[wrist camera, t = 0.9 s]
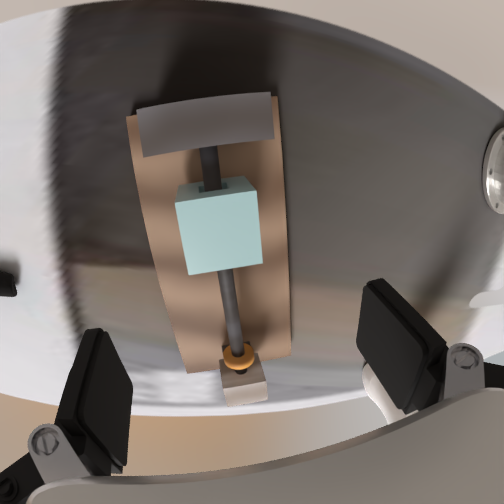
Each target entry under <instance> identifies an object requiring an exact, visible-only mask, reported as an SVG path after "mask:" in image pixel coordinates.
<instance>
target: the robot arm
mask: <svg viewBox="0 0 504 504" xmlns="http://www.w3.org/2000/svg"><path fill="white" fill-rule="evenodd" d="M482 181H483V190H484V195H485V198H486V201H487V203H488V205H489V207H490V208H491V209H492V210H493V211H495V212H497V213H500V214H504V128H501V129H499V130H498V131H497V132H496V133H495V134H494V135H493V137H492V138H491V140H490V142H489V145H488V147H487V150H486V154H485V158H484V163H483V179H482ZM356 343H357V347H358V349H359V351H360V352H361V354H362V355H363V357H364V358H365V360H366V361H367V363H368V364H369V366H370V367H371V369H372V370H373V372H374V373H375V375H376V376H377V378H378V380H379V381H380V383H381V384H382V386H383V387H384V389H385V390H386V392H387V393H388V395H389V397H390V398H391V400H392V401H393V403H394V404H395V406H396V407H397V409H399V410H400V409H402V411H403V412H404V414H405V415H407V414H409V413H412V412H414V411H416V410H418V412H417V413H414V414H412V415H410V416H408V417H405V418H403V419H401V420H398V421H396V422H393V423H391V424H389V425H386V426H384V427H381V428H379V429H376V430H374V431H372V432H368V433H366V434H363V435H360V436H357V437H355V438H352V439H349V440H346V441H343V442H340V443H337V444H334V445H331V446H327V447H324V448H321V449H317V450H314V451H310V452H306V453H303V454H299V455H295V456H291V457H287V458H282V459H278V460H274V461H269V462H264V463H259V464H254V465H248V466H243V467H236V468H230V469H223V470H217V471H208V472H200V473H188V474H175V475H156V476H111V473H116V474H122V470H123V466H126V464H127V452H128V438H129V426H130V425H129V424H130V415H131V405H132V396H133V385H132V382H131V380H130V378H129V376H128V374H127V372H126V370H125V368H124V366H123V364H122V362H121V360H120V358H119V356H118V354H117V351H116V349H115V347H114V345H113V343H112V341H111V338H110V336H109V334H108V332H106V331H105V332H104V331H103V330H102V329H101V328H95V329H87V330H86V331H85V333H84V335H83V338H82V341H81V343H80V346H79V349H78V352H77V354H76V357H75V360H74V363H73V366H72V368H71V370H70V372H69V375H68V378H67V382H66V385H65V388H64V391H63V394H62V398H61V401H60V405H59V408H58V412H57V415H56V419H55V423H54V424H43V425H40V426H38V427H37V428H36V429H34V430H33V432H32V433H31V434H30V436H29V439H28V449H29V452H28V453H27V454H26V455H24V456H23V457H22V458H20V459H19V460H18V461H16V462H15V463H13V464H12V465H11V466H9V467H8V468H6V469H5V470H4V471H2V472H1V473H0V504H504V366H501V365H496V364H491V363H487V362H483V356H482V354H481V353H480V351H479V350H478V349H477V348H476V347H474V346H472V345H470V344H466V343H458V344H454V345H453V346H451V347H450V348H448V347H447V346H446V343H447V342H446V341H445V340H444V339H443V338H442V337H441V336H440V335H439V334H438V333H437V332H436V331H435V330H434V329H433V328H432V326H431V325H430V324H429V323H428V322H427V321H426V320H425V319H424V318H423V317H422V316H421V315H420V314H419V313H418V312H417V311H416V310H415V309H414V308H413V307H412V306H411V305H410V304H409V303H408V302H407V301H406V300H405V299H404V298H403V297H402V296H401V295H400V294H399V293H398V292H397V291H396V290H395V289H394V288H393V287H392V286H391V285H390V284H389V283H387V282H386V281H385V280H384V279H383V278H380V279H376V280H372V281H369V282H367V285H366V286H364V288H363V294H362V302H361V310H360V318H359V325H358V332H357V338H356Z"/></svg>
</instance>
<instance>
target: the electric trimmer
mask: <svg viewBox="0 0 504 504" xmlns="http://www.w3.org/2000/svg"><path fill="white" fill-rule="evenodd" d="M16 295H17V290H16V286H15V282H14V278H13V275H12V274H9V273H5V272H1V271H0V296H6V297H15V296H16Z"/></svg>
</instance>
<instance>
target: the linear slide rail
mask: <svg viewBox="0 0 504 504" xmlns="http://www.w3.org/2000/svg"><path fill="white" fill-rule="evenodd" d="M136 111H137V115H133V116H128V117H126V120H127V127H128V134H129V141H130V148H131V154H132V160H133V166H134V171H135V177H136V182H137V188H138V193H139V198H140V203H141V208H142V212H143V217H144V222H145V226H146V231H147V235H148V239H149V244H150V248H151V252H152V256H153V260H154V264H155V268H156V272H157V275H158V279H159V283H160V287H161V290H162V294H163V298H164V301H165V305H166V308H167V311H168V315H169V318H170V321H171V325H172V328H173V331H174V334H175V338H176V341H177V344H178V347H179V350H180V353H181V356H182V359H183V362H184V365H185V368H186V371H187V374H188V373H195V372H202V371H209V370H216V369H220V372H221V379H222V385H223V391H224V394H225V398H226V402H227V406H228V407H231V406H237V405H242V404H248V403H253V402H259V401H264V400H268V396H267V386H266V379H265V376H264V373H263V369H262V366H261V361H266V360H271V359H276V358H281V357H285V356H290V355H291V335H290V297H289V270H288V247H287V226H286V208H285V191H284V176H283V161H282V147H281V134H280V122H279V110H278V99H277V96H274V97H271V92H259V93H245V94H234V95H224V96H215V97H207V98H200V99H192V100H186V101H179V102H173V103H168V104H162V105H157V106H152V107H147V108H142V109H137V110H136ZM237 176H245V177H246V179H247V180H248V181H249V182H250V183H251V185H252V186H253V187H254V188H255V189H256V191H257V202H258V213H259V224H260V236H261V247H262V259H263V263H261V264H255V265H249V266H243V267H237V268H231V269H225V270H219V271H213V272H206V273H200V274H194V275H189V274H188V269H187V265H186V260H185V255H184V250H183V245H182V240H181V235H180V230H179V224H178V219H177V213H176V208H175V199H176V194H177V190H178V186H179V185H183V184H189V183H196V182H202V181H203V182H204V189H205V192H208V191H215V190H222V182H221V179H222V178H230V177H237Z"/></svg>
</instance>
